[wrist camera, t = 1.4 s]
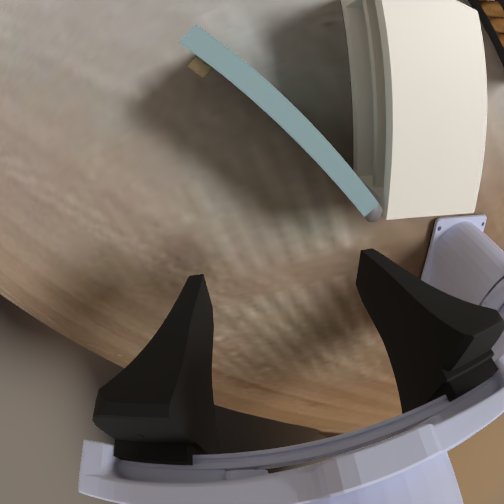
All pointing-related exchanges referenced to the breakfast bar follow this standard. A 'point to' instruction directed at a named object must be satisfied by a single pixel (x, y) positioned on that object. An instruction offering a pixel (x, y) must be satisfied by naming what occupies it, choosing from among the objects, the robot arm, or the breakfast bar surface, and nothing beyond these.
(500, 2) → the ammunition clip
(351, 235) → the breakfast bar surface
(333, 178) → the door
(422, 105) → the cabinet
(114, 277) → the breakfast bar surface
